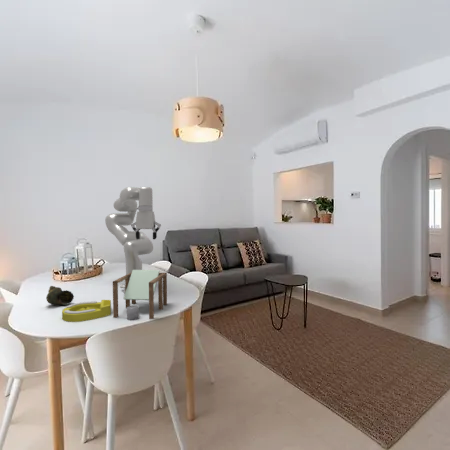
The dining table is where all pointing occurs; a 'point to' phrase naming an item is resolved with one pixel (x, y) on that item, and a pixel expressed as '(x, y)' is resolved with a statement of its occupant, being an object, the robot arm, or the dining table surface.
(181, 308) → the dining table surface
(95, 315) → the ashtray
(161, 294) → the frame
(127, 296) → the pale green flat block
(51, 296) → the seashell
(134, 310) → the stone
